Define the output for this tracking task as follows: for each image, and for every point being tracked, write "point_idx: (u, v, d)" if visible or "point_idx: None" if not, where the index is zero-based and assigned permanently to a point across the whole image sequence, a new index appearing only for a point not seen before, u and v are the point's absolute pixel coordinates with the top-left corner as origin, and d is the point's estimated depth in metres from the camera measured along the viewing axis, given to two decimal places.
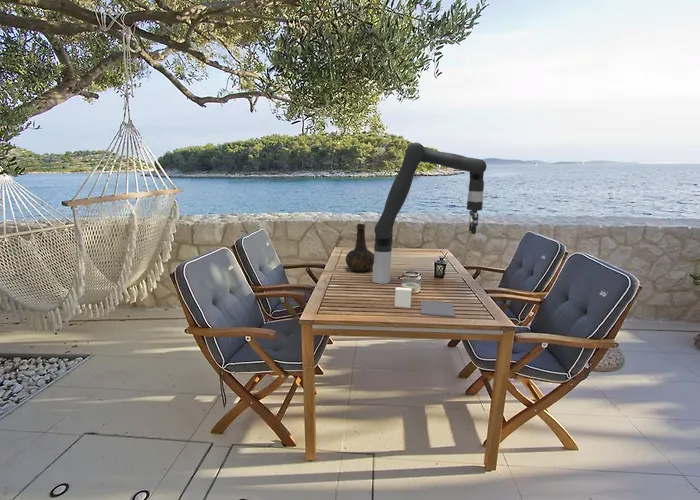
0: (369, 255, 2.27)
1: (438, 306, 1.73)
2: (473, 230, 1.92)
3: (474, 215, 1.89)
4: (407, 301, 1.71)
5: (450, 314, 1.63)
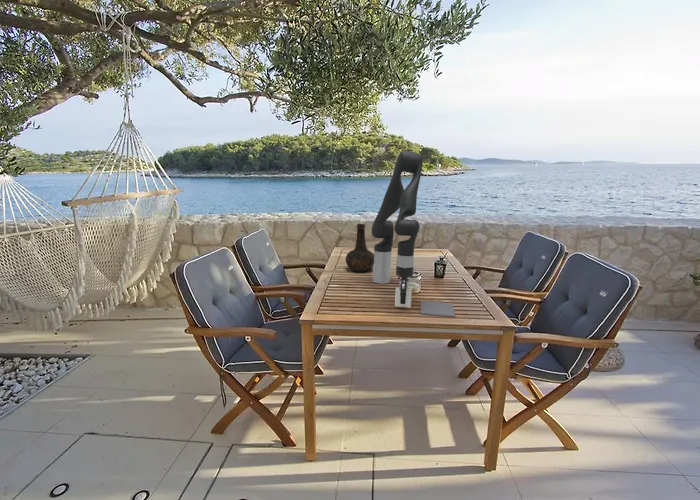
0: (369, 255, 2.27)
1: (438, 306, 1.73)
2: (402, 300, 1.70)
3: (401, 287, 1.65)
4: (407, 301, 1.71)
5: (450, 314, 1.63)
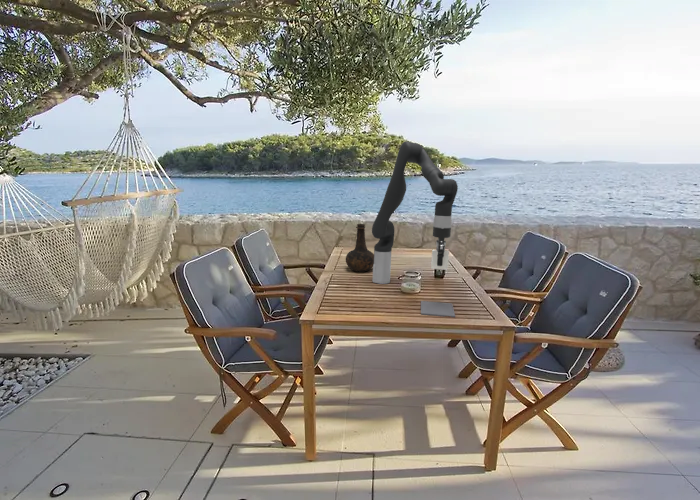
0: (369, 255, 2.27)
1: (438, 306, 1.73)
2: (439, 262, 1.68)
3: (440, 247, 1.63)
4: (444, 263, 1.69)
5: (450, 314, 1.63)
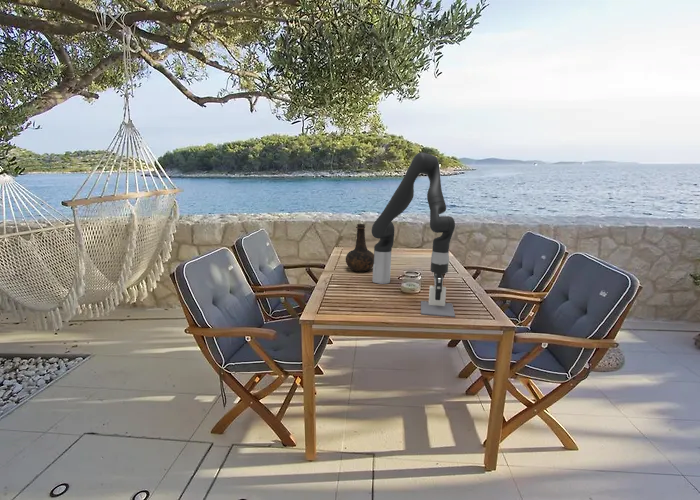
0: (369, 255, 2.27)
1: (438, 306, 1.73)
2: (437, 296, 1.69)
3: (438, 280, 1.66)
4: (441, 300, 1.72)
5: (450, 314, 1.63)
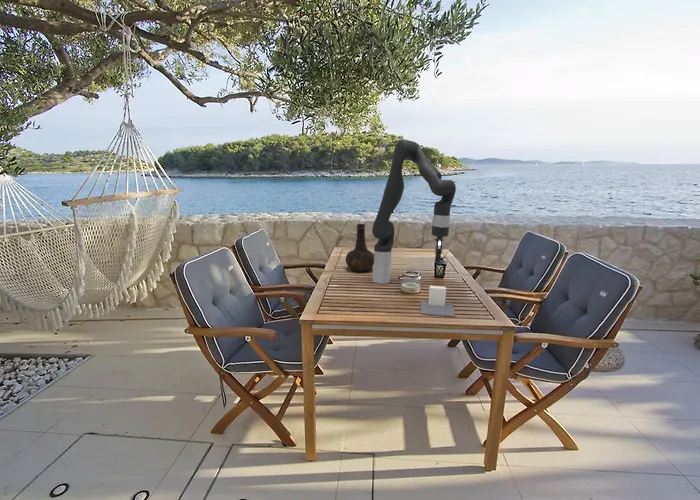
0: (369, 255, 2.27)
1: (438, 306, 1.73)
2: (437, 259, 1.76)
3: (437, 247, 1.70)
4: (441, 300, 1.72)
5: (450, 314, 1.63)
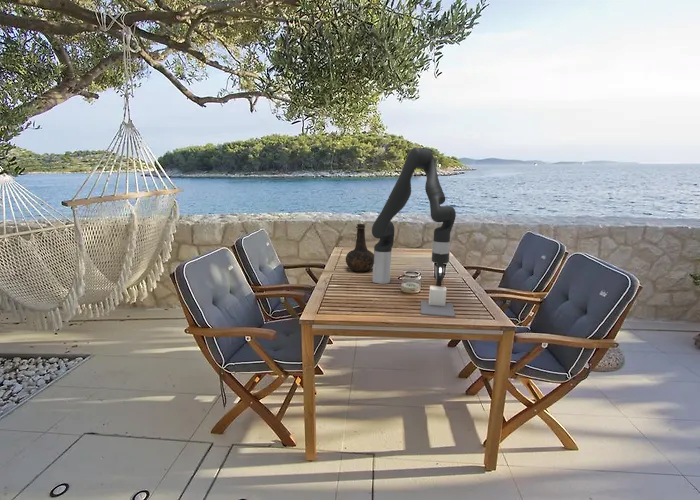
0: (369, 255, 2.27)
1: (438, 306, 1.73)
2: (438, 285, 1.73)
3: (438, 274, 1.68)
4: (441, 300, 1.72)
5: (450, 314, 1.63)
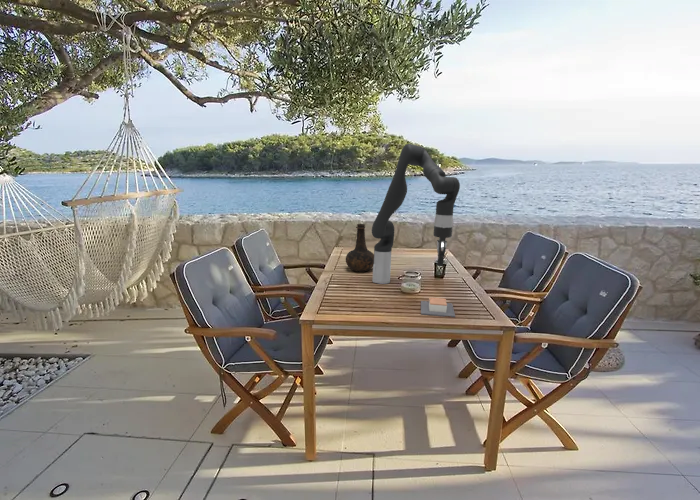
0: (369, 255, 2.27)
1: None
2: (440, 262, 1.64)
3: (440, 249, 1.59)
4: None
5: (450, 314, 1.63)
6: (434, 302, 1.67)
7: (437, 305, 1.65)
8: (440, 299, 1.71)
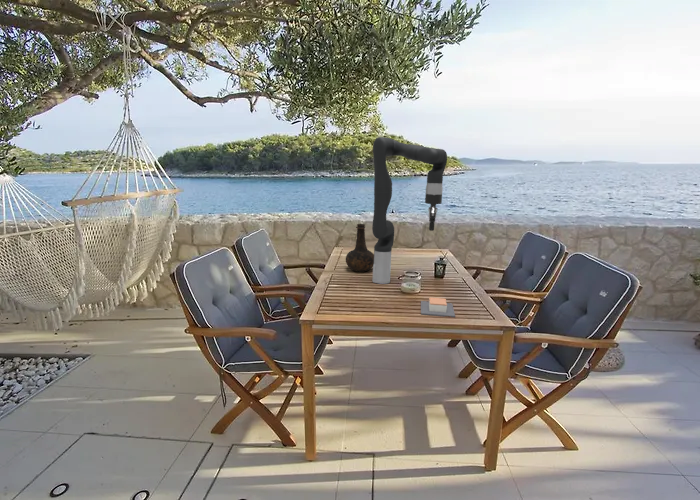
0: (369, 255, 2.27)
1: None
2: (431, 226, 1.81)
3: (431, 214, 1.76)
4: None
5: (450, 314, 1.63)
6: (434, 302, 1.67)
7: (437, 305, 1.65)
8: (440, 299, 1.71)
